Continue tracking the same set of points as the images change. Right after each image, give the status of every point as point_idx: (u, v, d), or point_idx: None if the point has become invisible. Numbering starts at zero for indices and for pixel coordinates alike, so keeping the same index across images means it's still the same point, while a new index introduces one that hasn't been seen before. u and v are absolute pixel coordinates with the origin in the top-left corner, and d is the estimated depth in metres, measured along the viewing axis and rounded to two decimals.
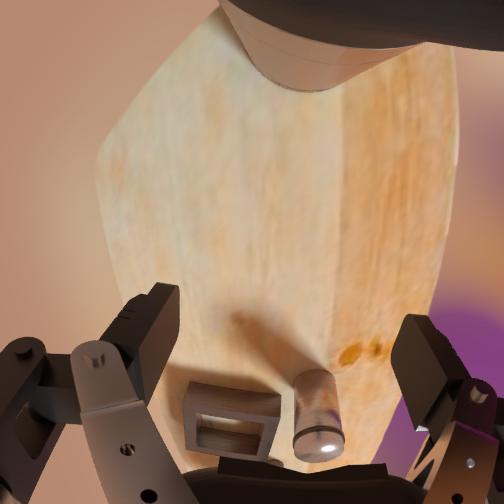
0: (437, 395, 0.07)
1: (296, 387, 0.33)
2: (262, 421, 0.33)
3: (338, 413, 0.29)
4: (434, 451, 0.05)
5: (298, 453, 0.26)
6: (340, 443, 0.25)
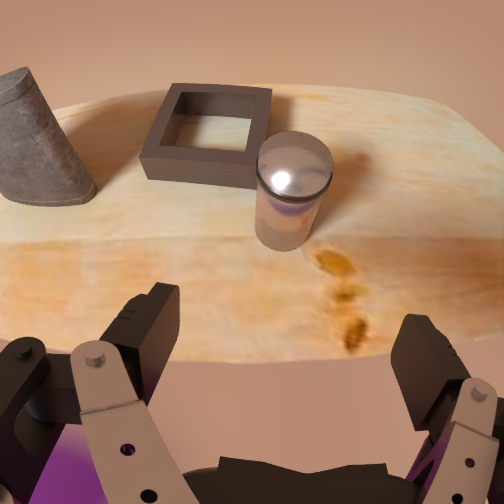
0: (437, 395, 0.07)
1: None
2: (249, 149, 0.28)
3: (309, 215, 0.23)
4: (434, 451, 0.05)
5: (289, 135, 0.21)
6: (321, 181, 0.19)
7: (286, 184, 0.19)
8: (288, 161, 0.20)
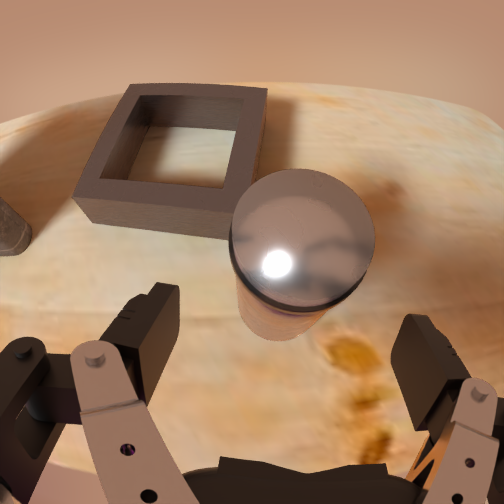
0: (437, 395, 0.07)
1: None
2: (230, 184, 0.18)
3: (322, 313, 0.13)
4: (434, 451, 0.05)
5: (292, 177, 0.11)
6: (352, 280, 0.10)
7: (285, 290, 0.10)
8: (290, 236, 0.10)
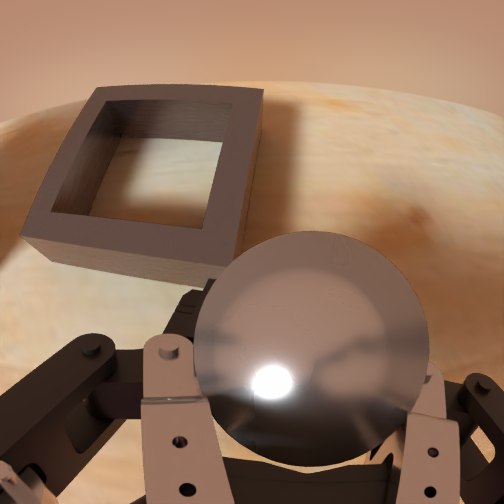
0: None
1: None
2: (212, 222, 0.14)
3: None
4: (389, 442, 0.05)
5: (300, 249, 0.07)
6: (390, 429, 0.05)
7: (281, 454, 0.05)
8: (294, 364, 0.06)
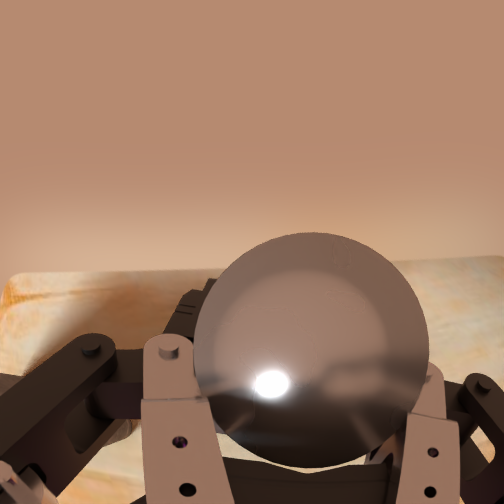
0: None
1: None
2: None
3: None
4: (389, 442, 0.05)
5: (300, 250, 0.07)
6: (390, 430, 0.05)
7: (281, 456, 0.05)
8: (293, 366, 0.06)
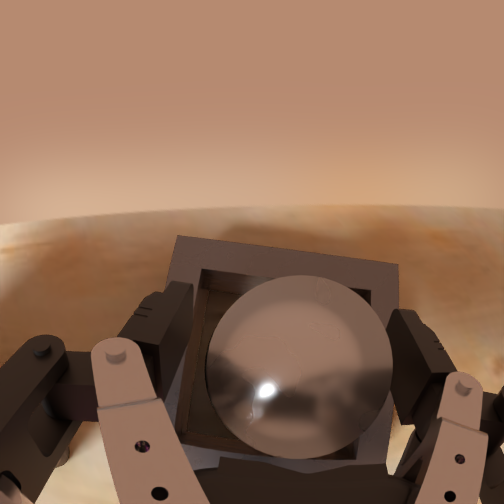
0: (422, 388, 0.07)
1: None
2: (365, 452, 0.12)
3: None
4: (422, 448, 0.05)
5: (289, 290, 0.08)
6: (358, 431, 0.07)
7: (273, 449, 0.07)
8: (283, 381, 0.07)
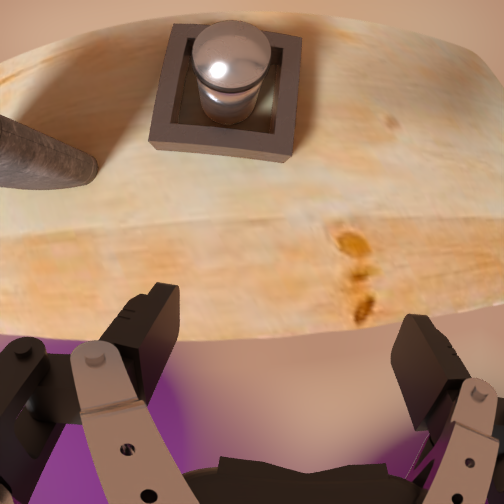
0: (437, 395, 0.07)
1: None
2: (279, 130, 0.24)
3: (248, 98, 0.21)
4: (434, 451, 0.05)
5: (226, 25, 0.17)
6: (255, 74, 0.17)
7: (219, 78, 0.17)
8: (223, 54, 0.17)
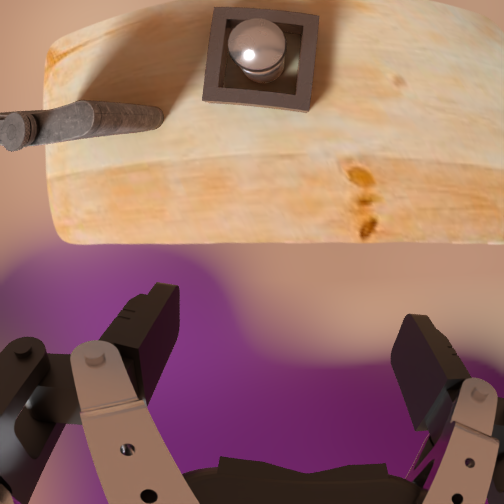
0: (437, 395, 0.07)
1: None
2: (300, 92, 0.30)
3: (273, 71, 0.27)
4: (434, 451, 0.05)
5: (251, 22, 0.22)
6: (273, 61, 0.24)
7: (248, 65, 0.24)
8: (250, 46, 0.23)
